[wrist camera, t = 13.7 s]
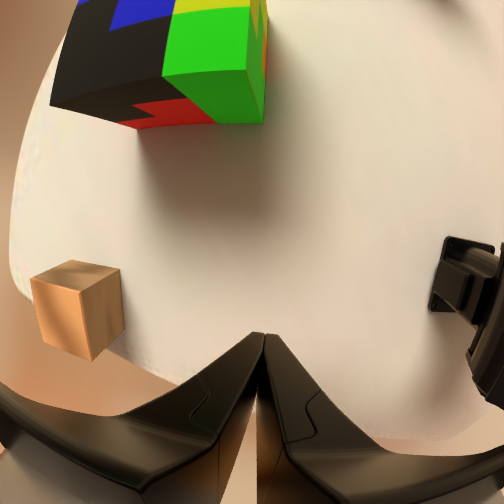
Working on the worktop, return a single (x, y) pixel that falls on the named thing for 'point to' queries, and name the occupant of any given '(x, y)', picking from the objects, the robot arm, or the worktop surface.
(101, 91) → the puzzle toy
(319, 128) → the worktop surface
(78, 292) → the walnut cube
